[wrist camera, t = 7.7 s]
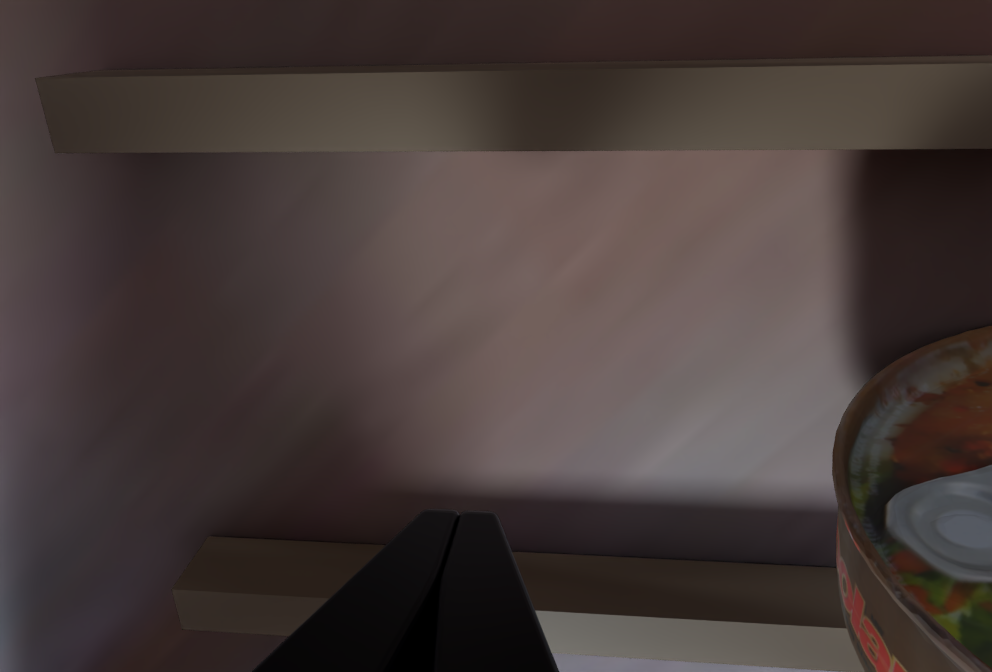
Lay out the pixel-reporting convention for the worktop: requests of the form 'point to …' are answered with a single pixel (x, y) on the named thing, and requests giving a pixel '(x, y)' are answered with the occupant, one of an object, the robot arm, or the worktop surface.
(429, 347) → the worktop surface
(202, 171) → the worktop surface
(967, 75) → the dock
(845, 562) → the tin
